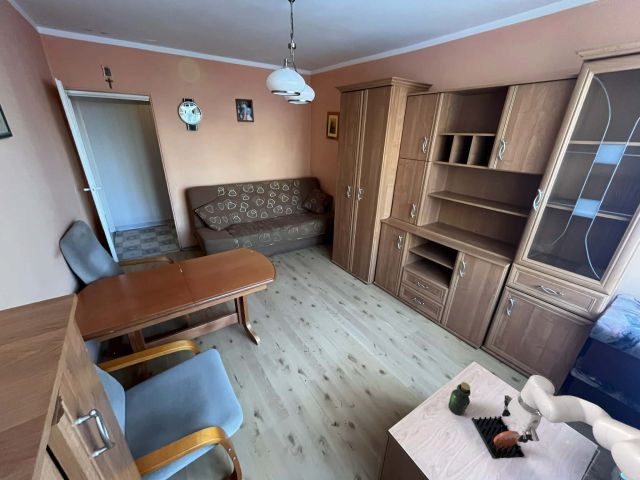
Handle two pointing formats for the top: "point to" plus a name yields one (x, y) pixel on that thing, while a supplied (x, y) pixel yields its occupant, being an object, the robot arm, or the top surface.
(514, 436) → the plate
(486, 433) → the rack
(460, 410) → the potion bottle
